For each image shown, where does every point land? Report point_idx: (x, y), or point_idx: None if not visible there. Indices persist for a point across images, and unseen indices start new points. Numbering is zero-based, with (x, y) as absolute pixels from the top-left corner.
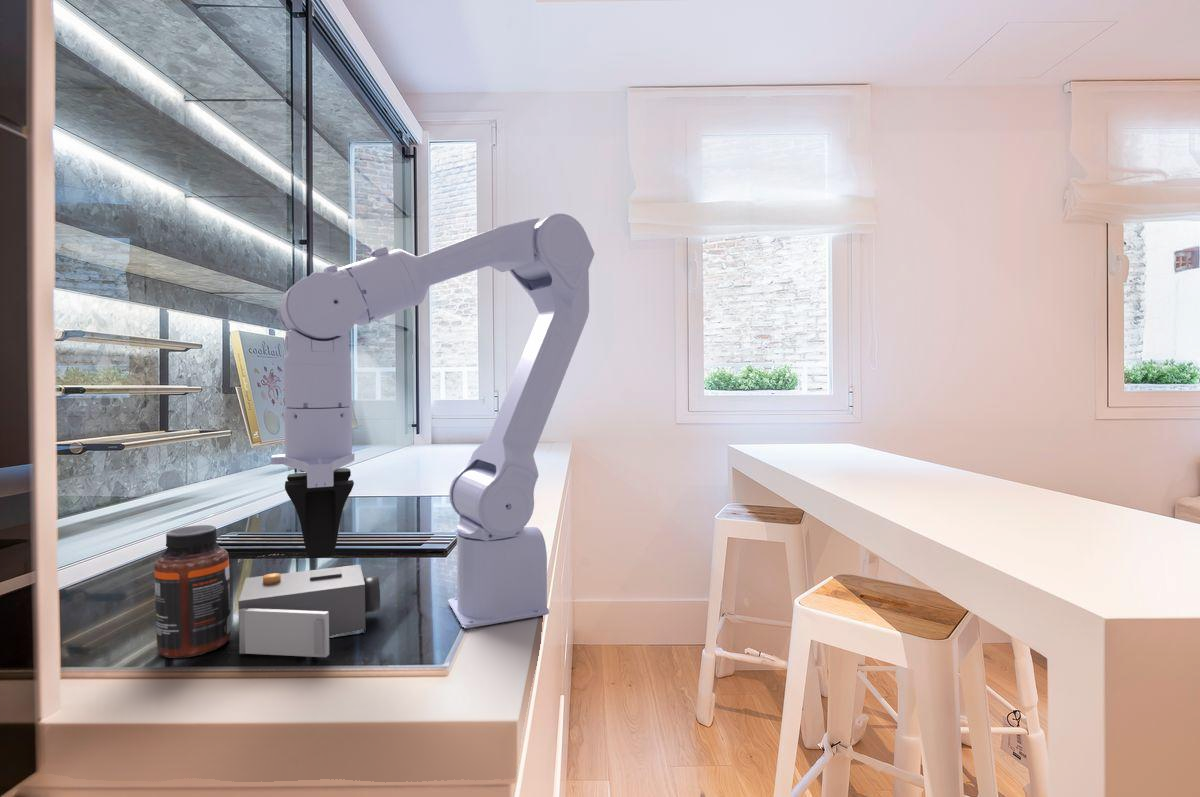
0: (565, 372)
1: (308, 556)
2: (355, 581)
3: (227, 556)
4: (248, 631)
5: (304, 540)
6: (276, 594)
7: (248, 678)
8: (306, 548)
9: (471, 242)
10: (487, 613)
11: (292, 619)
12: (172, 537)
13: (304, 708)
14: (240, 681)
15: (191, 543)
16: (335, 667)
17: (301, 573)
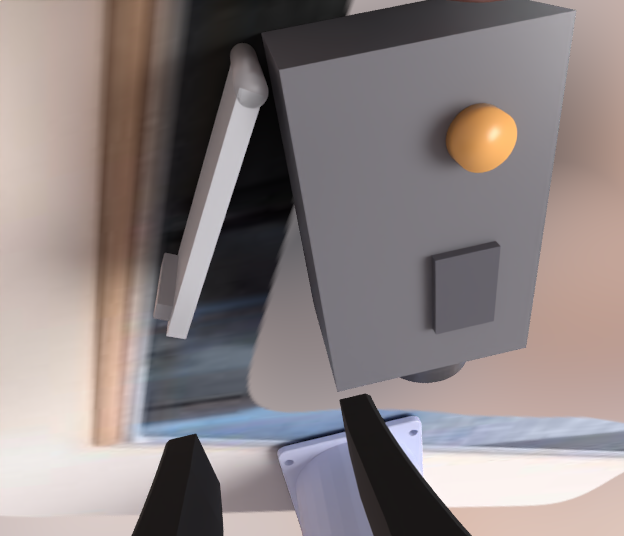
0: None
1: (167, 446)
2: (372, 367)
3: (493, 1)
4: (229, 91)
5: (144, 511)
6: (318, 190)
7: (99, 106)
8: (156, 476)
9: None
10: (298, 488)
11: (191, 243)
12: None
13: None
14: (82, 90)
15: None
16: (145, 282)
17: (521, 212)
